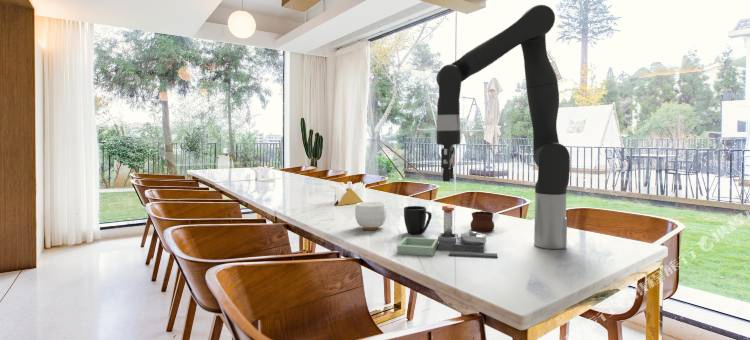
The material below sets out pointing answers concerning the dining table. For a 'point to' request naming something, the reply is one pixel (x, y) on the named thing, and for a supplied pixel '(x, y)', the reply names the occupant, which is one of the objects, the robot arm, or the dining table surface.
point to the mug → (416, 219)
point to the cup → (370, 214)
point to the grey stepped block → (463, 242)
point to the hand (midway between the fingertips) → (448, 180)
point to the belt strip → (473, 254)
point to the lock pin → (448, 220)
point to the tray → (417, 246)
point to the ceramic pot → (482, 221)
